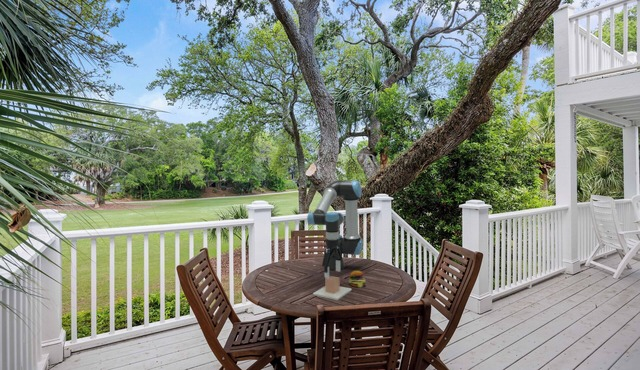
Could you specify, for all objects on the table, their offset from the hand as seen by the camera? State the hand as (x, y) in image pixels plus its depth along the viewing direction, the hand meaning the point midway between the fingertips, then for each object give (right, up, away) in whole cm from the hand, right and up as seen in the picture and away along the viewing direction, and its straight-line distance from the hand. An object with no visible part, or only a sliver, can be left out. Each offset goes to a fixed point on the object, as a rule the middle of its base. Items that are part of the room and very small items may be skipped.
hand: (332, 274), depth 201 cm
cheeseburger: (+16, -10, +13) cm, 23 cm away
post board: (0, -11, 0) cm, 11 cm away
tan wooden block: (0, -10, 0) cm, 10 cm away
